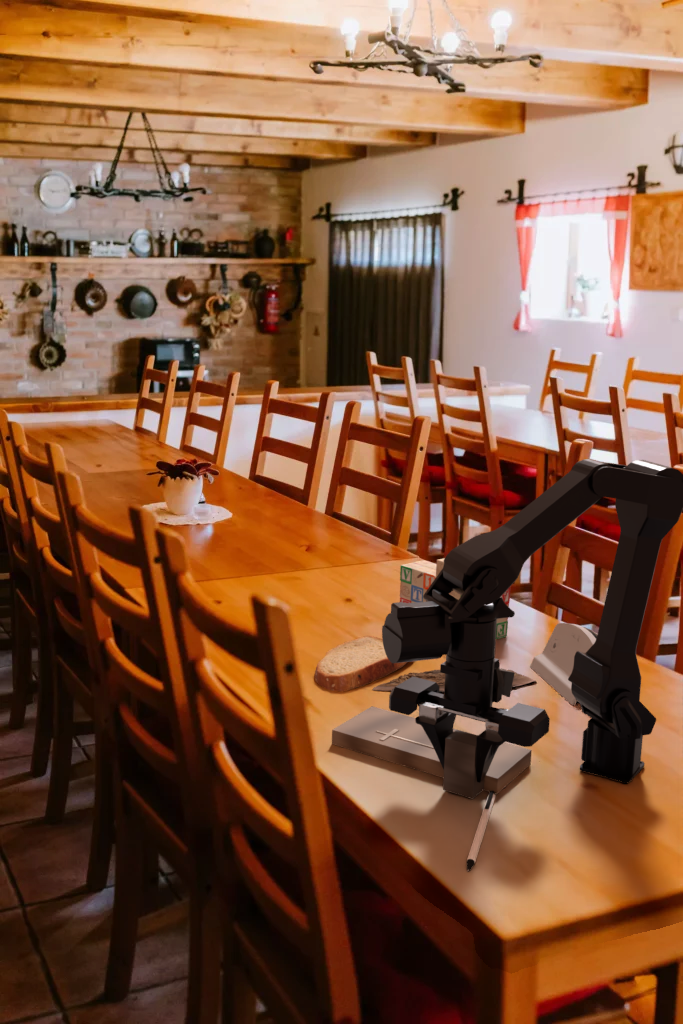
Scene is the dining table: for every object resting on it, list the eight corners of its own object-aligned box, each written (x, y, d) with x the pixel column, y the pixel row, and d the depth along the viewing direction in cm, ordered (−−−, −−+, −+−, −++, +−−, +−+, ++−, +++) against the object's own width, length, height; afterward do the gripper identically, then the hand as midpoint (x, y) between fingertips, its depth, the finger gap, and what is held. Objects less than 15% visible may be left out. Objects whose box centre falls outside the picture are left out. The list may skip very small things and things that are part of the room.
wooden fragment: (525, 671, 173) (525, 664, 172) (546, 697, 162) (547, 690, 162) (365, 675, 169) (365, 669, 169) (377, 702, 159) (377, 696, 158)
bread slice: (321, 694, 161) (322, 670, 160) (301, 653, 178) (301, 631, 178) (437, 688, 165) (438, 665, 164) (406, 648, 182) (407, 627, 181)
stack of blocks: (397, 613, 200) (400, 548, 198) (422, 607, 204) (424, 543, 202) (484, 644, 184) (487, 574, 182) (508, 637, 188) (512, 568, 186)
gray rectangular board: (530, 764, 139) (531, 749, 138) (496, 794, 131) (497, 777, 130) (371, 719, 152) (372, 705, 151) (331, 743, 143) (332, 728, 143)
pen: (496, 794, 131) (497, 786, 131) (471, 875, 113) (472, 866, 113) (489, 793, 131) (490, 785, 131) (463, 874, 113) (464, 864, 113)
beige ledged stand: (528, 665, 174) (552, 609, 173) (554, 673, 176) (577, 617, 174) (572, 705, 158) (599, 643, 157) (600, 714, 160) (626, 652, 158)
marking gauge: (497, 777, 134) (500, 727, 133) (472, 798, 129) (475, 746, 127) (468, 769, 136) (471, 719, 135) (442, 789, 131) (445, 738, 129)
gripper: (571, 651, 129) (562, 772, 132) (433, 621, 139) (428, 735, 142) (533, 678, 120) (525, 808, 123) (388, 644, 130) (384, 765, 133)
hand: (464, 776), depth 130 cm, fingers closed on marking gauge, 4 cm apart
